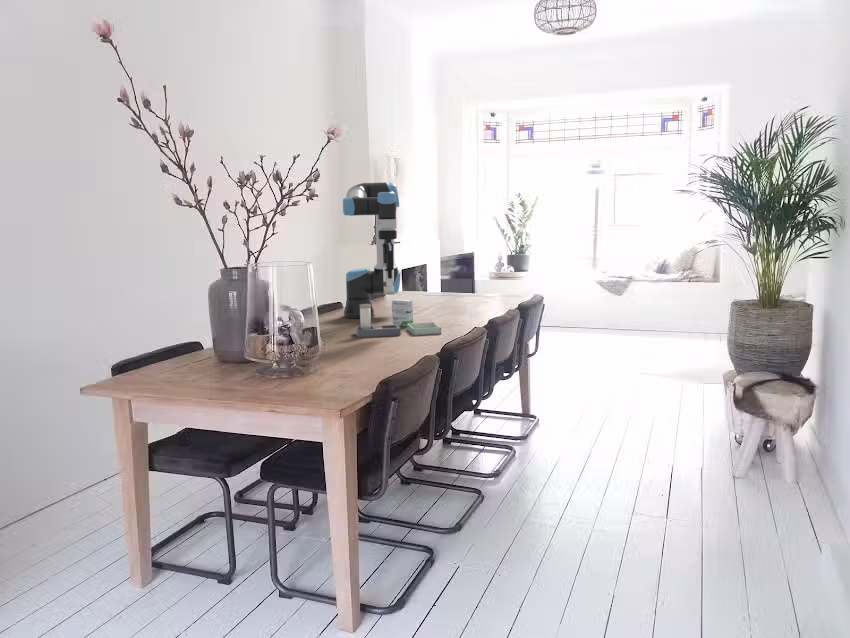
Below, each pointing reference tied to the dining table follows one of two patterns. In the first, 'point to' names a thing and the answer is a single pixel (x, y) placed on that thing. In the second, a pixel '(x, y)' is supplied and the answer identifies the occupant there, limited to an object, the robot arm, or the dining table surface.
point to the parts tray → (423, 328)
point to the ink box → (402, 312)
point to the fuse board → (378, 331)
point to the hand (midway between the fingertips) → (388, 285)
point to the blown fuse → (387, 289)
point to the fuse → (365, 316)
